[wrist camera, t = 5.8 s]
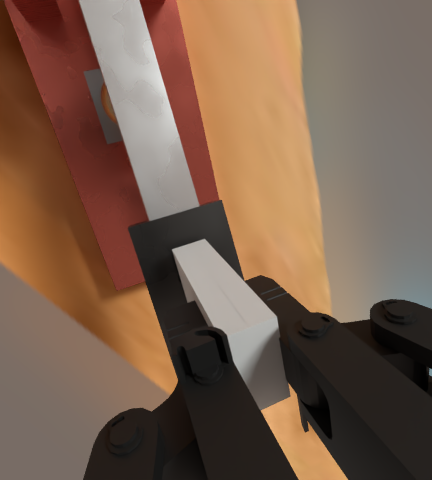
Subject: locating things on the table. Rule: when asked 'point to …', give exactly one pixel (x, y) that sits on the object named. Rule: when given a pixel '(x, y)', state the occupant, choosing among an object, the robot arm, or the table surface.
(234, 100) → the table surface
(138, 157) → the nutcracker lever
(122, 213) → the nutcracker base
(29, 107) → the table surface
